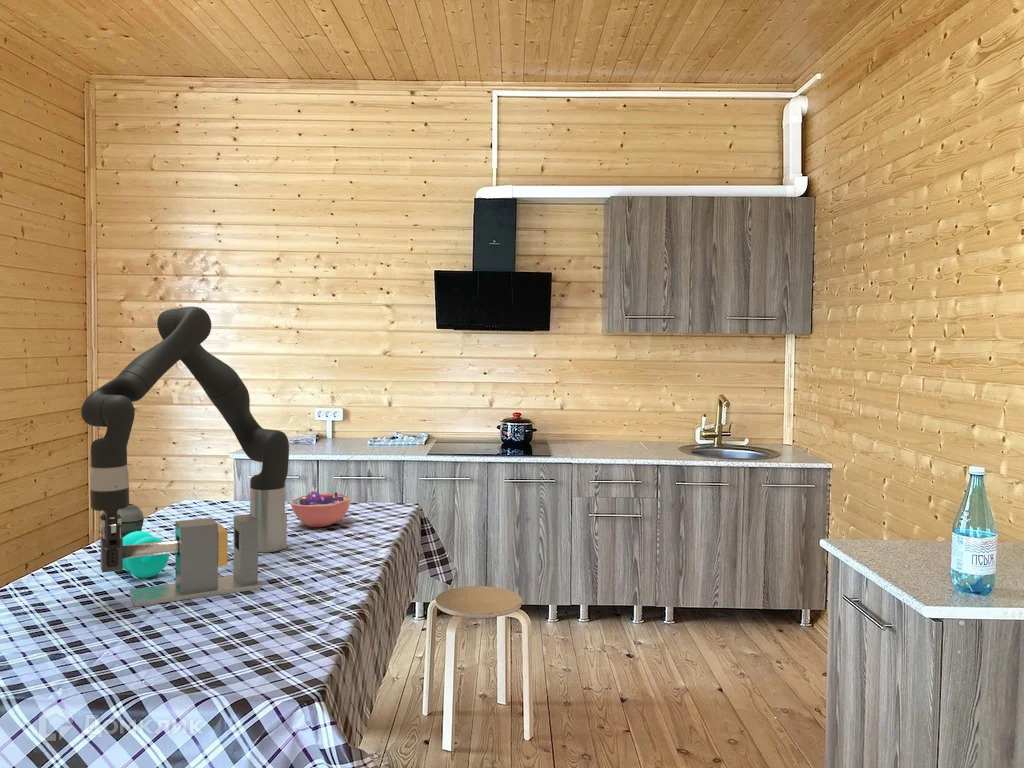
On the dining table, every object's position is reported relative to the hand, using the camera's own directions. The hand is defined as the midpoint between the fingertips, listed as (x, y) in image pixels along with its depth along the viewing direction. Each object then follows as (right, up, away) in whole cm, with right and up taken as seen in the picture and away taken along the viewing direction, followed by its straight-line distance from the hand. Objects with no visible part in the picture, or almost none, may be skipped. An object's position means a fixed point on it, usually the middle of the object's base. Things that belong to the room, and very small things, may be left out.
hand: (111, 563), depth 174 cm
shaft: (+9, -1, +6) cm, 11 cm away
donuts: (-3, -8, +22) cm, 23 cm away
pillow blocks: (+15, -9, +10) cm, 20 cm away
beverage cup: (-10, -7, +29) cm, 32 cm away
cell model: (+28, -5, +76) cm, 81 cm away
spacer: (+19, -2, +12) cm, 23 cm away
